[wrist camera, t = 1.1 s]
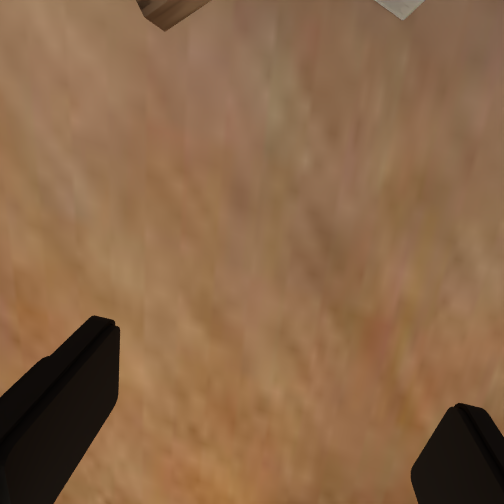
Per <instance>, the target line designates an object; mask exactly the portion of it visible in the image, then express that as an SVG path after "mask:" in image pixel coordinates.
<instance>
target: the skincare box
mask: <svg viewBox="0 0 504 504" xmlns="http://www.w3.org/2000/svg"><path fill="white" fill-rule="evenodd" d="M375 1H376V2H377V3H379V4H380V5H382V6H383V7H384V8H386V9H387V10H389V11H390V12H391V13H393V14H394V15H395V16H397V17H398V18H400V19H401V20H404V19H406V18H407V17H408V16H409V15H410V14H411V13H412V12H413V11H414V10H415V9H416V8H418V7H419V6H420V5H421V4H422V3H423V2H424V1H425V0H375Z"/></svg>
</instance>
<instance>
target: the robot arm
mask: <svg viewBox="0 0 504 504" xmlns="http://www.w3.org/2000/svg"><path fill="white" fill-rule="evenodd" d="M119 351H120V328H119V327H118V326H115V321H114V320H111V319H107V318H103V317H99V316H95V315H94V316H91V317H90V318H89V319H88V320H87V321H86V322H85V323H84V324H83V325H82V326H80V327H79V328H78V329H77V330H76V331H75V332H74V333H73V334H72V335H71V336H70V337H69V338H68V339H67V340H66V341H65V342H64V343H63V344H62V345H61V346H60V347H59V348H58V349H57V350H56V351H55V352H54V353H53V354H52V355H50V356H47V357H44V358H42V359H41V360H40V361H38V362H37V363H36V364H35V365H34V366H33V367H32V368H31V369H30V370H29V371H28V372H27V373H25V374H24V375H23V376H22V377H21V378H20V379H19V380H18V381H17V382H16V383H15V384H14V385H13V386H12V387H11V388H10V389H9V390H7V391H6V392H5V393H4V394H3V395H2V396H1V397H0V504H53V503H54V502H55V500H56V499H57V497H58V496H59V494H60V492H61V491H62V489H63V488H64V486H65V484H66V483H67V481H68V480H69V478H70V476H71V475H72V473H73V472H74V470H75V468H76V467H77V465H78V464H79V462H80V460H81V459H82V457H83V456H84V454H85V453H86V451H87V449H88V448H89V446H90V445H91V443H92V441H93V440H94V438H95V437H96V435H97V433H98V432H99V430H100V429H101V427H102V425H103V424H104V422H105V421H106V419H107V417H108V416H109V414H110V413H111V411H112V410H113V408H114V406H115V404H116V401H117V398H118V387H119ZM411 482H412V485H413V488H414V491H415V495H416V498H417V501H418V504H504V437H503V435H502V434H501V432H500V431H499V429H498V428H497V426H496V425H495V423H494V422H493V420H492V419H491V417H490V415H489V414H488V413H487V412H486V410H484V409H482V408H479V407H475V406H471V405H467V404H463V403H458V404H456V405H455V406H454V407H450V408H449V409H448V410H447V412H446V413H445V415H444V416H443V418H442V420H441V421H440V423H439V425H438V426H437V428H436V429H435V431H434V433H433V434H432V436H431V438H430V439H429V441H428V442H427V444H426V446H425V447H424V449H423V450H422V452H421V454H420V455H419V457H418V459H417V460H416V462H415V463H414V465H413V467H412V469H411Z"/></svg>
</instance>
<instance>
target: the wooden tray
mask: <svg viewBox="0 0 504 504" xmlns="http://www.w3.org/2000/svg"><path fill="white" fill-rule="evenodd" d="M136 1H137V3H138V5H139V7H140V9H141V11H142V13H143V15H144V17H145V18H146V19H148V20H149V21H150V22H152V23H153V24H155V25H156V26H158V27H159V28H161V29H162V30H163V31H167V30H168V29H170V28H171V27H172V26H174V25H175V24H177V23H178V22H180V21H181V20H183V19H184V18H186V17H187V16H189V15H190V14H192V13H193V12H195V11H196V10H198V9H199V8H201V7H202V6H204V5H205V4H207V3H208V2H209V1H211V0H136Z"/></svg>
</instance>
